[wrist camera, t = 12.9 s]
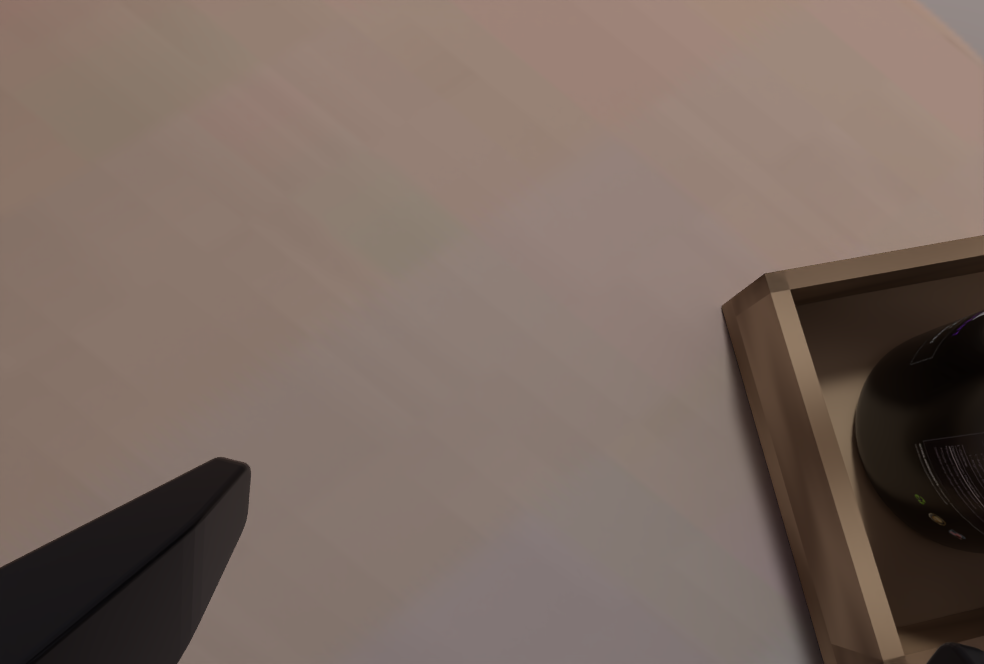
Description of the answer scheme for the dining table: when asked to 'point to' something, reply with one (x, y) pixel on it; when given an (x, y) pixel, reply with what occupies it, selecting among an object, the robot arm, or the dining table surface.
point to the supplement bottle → (929, 432)
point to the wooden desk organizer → (855, 445)
